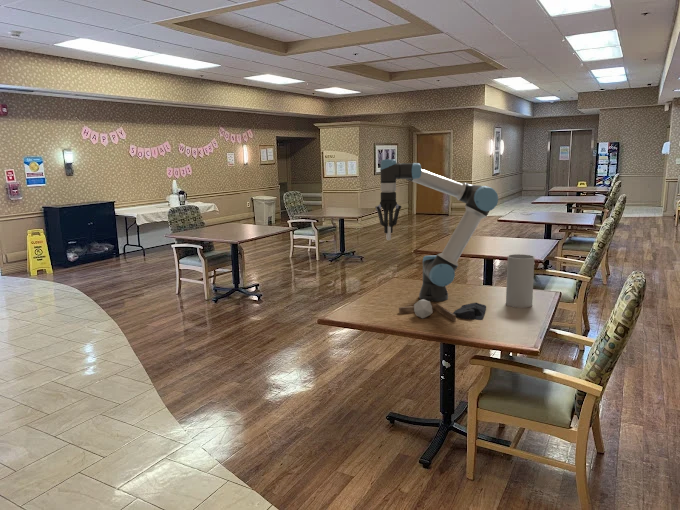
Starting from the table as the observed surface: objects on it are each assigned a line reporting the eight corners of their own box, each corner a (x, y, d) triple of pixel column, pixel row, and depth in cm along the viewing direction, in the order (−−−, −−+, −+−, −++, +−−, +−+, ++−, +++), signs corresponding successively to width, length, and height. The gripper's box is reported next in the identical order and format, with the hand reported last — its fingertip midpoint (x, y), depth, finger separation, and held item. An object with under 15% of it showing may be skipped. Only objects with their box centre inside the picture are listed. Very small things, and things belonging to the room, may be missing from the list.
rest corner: (437, 309, 255) (437, 304, 255) (455, 321, 236) (455, 315, 236) (398, 313, 251) (398, 307, 250) (414, 325, 232) (414, 319, 231)
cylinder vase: (513, 309, 254) (515, 259, 249) (501, 303, 266) (503, 254, 261) (537, 308, 255) (539, 258, 251) (524, 301, 268) (526, 253, 263)
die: (421, 316, 236) (439, 312, 240) (414, 298, 239) (432, 294, 243) (413, 322, 244) (431, 318, 247) (407, 305, 247) (424, 301, 251)
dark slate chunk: (491, 310, 255) (491, 301, 254) (481, 322, 236) (481, 312, 235) (460, 307, 262) (460, 297, 261) (448, 318, 243) (448, 308, 242)
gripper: (398, 190, 257) (398, 238, 261) (373, 191, 254) (373, 239, 258) (403, 191, 250) (403, 240, 254) (377, 192, 247) (378, 241, 251)
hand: (388, 239), depth 256 cm, fingers closed
